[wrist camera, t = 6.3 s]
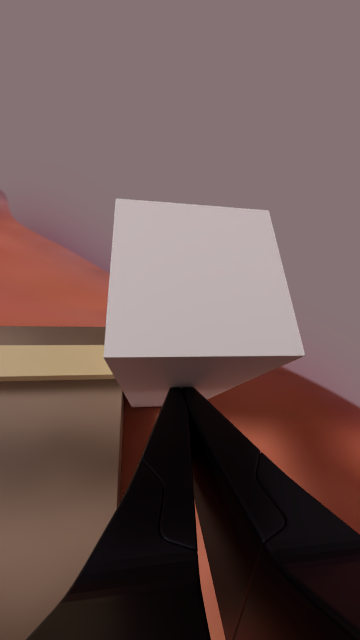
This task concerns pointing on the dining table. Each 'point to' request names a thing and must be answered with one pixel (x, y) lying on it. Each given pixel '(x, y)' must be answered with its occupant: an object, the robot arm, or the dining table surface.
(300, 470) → the dining table surface
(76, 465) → the plank
